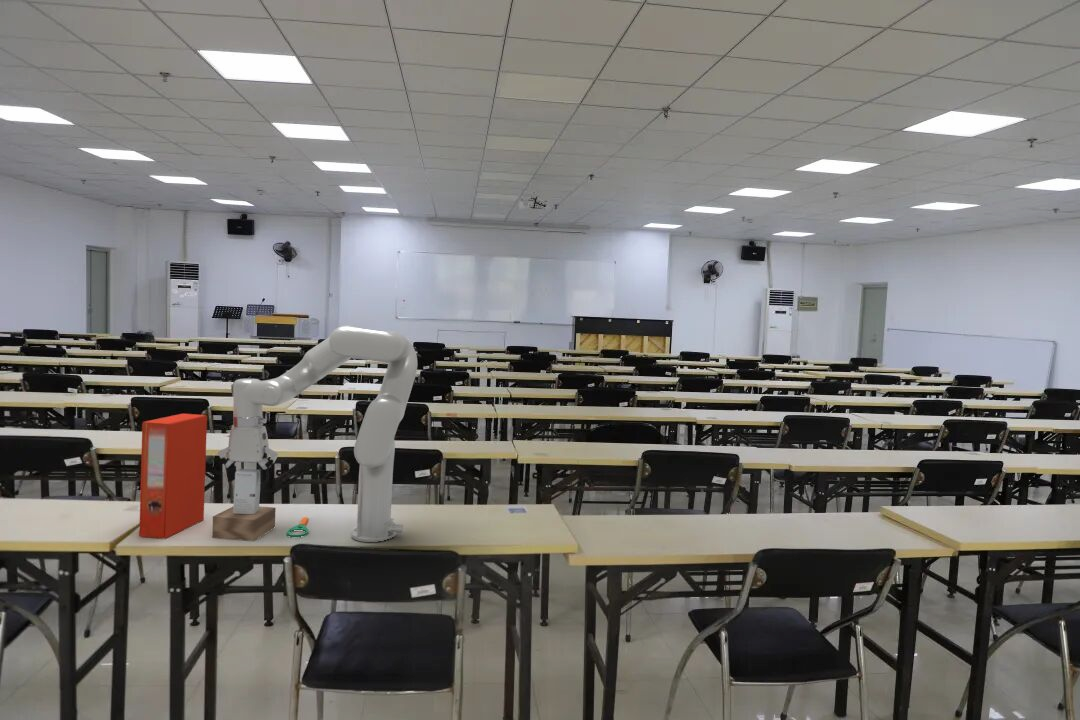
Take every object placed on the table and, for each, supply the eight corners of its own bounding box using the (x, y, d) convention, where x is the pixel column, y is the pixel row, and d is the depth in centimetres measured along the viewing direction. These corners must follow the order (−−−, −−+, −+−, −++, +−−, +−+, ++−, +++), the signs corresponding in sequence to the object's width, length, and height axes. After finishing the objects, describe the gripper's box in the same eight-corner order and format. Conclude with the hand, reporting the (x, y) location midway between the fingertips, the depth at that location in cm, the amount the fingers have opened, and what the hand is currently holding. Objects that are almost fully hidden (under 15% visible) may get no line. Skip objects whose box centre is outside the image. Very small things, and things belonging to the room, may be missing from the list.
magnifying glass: (306, 539, 182) (306, 533, 182) (283, 539, 181) (284, 533, 181) (315, 522, 197) (315, 517, 197) (295, 522, 196) (295, 516, 196)
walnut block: (274, 527, 189) (275, 507, 189) (253, 541, 177) (254, 519, 177) (236, 524, 190) (236, 504, 190) (212, 537, 178) (212, 516, 178)
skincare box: (232, 514, 181) (233, 471, 180) (238, 509, 185) (239, 468, 185) (255, 514, 182) (256, 472, 181) (260, 510, 186) (261, 468, 185)
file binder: (204, 520, 193) (207, 415, 191) (167, 539, 176) (169, 423, 174) (179, 518, 193) (181, 413, 192) (139, 537, 176) (141, 421, 174)
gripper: (283, 421, 185) (283, 479, 186) (226, 419, 187) (226, 476, 188) (270, 425, 178) (270, 486, 179) (211, 423, 179) (211, 483, 180)
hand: (248, 481), depth 183 cm, fingers open, 9 cm apart
